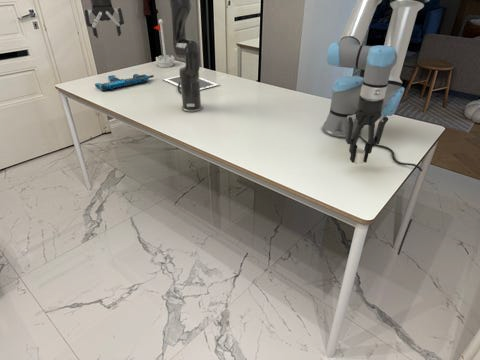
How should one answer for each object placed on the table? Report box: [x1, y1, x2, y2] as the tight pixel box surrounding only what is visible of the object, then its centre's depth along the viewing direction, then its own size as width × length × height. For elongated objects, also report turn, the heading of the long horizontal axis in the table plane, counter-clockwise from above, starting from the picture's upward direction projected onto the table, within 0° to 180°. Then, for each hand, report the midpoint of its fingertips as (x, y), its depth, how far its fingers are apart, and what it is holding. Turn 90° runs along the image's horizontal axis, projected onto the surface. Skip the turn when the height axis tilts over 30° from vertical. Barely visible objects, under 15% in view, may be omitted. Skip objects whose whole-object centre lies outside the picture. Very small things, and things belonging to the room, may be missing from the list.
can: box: [354, 148, 365, 165], centre depth 121 cm, size 4×4×4 cm
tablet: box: [162, 75, 220, 91], centre depth 208 cm, size 32×20×1 cm, turn 41°
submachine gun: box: [94, 73, 155, 91], centre depth 208 cm, size 34×4×25 cm
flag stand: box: [153, 18, 176, 68], centre depth 235 cm, size 13×13×30 cm
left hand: (108, 36), depth 139 cm, fingers open, 8 cm apart
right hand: (358, 160), depth 122 cm, fingers closed on can, 4 cm apart
